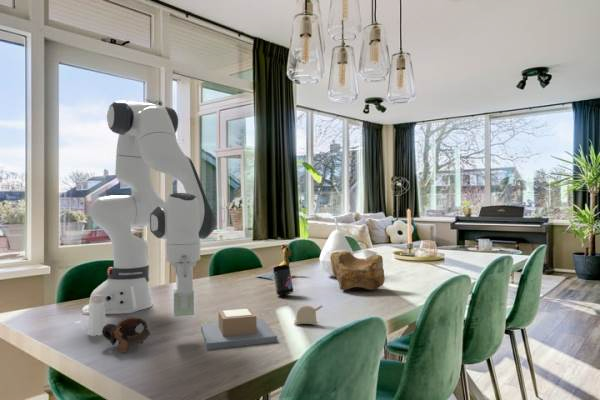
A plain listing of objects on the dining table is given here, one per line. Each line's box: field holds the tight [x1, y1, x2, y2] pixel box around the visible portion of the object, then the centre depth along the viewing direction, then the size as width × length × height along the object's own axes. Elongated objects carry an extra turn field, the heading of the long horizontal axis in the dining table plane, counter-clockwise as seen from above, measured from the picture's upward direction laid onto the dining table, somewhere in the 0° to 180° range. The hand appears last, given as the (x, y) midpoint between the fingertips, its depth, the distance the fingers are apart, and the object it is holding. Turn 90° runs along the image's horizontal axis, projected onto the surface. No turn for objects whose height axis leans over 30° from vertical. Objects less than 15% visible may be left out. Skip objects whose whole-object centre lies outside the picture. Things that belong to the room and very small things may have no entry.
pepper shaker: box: [86, 294, 107, 337], centre depth 121 cm, size 5×5×11 cm
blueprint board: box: [200, 307, 278, 350], centre depth 119 cm, size 18×18×6 cm
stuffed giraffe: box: [255, 244, 298, 281], centre depth 208 cm, size 16×18×16 cm
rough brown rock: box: [330, 251, 385, 291], centre depth 177 cm, size 23×17×15 cm
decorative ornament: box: [293, 304, 323, 326], centre depth 129 cm, size 4×8×5 cm, turn 87°
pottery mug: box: [102, 316, 151, 354], centre depth 109 cm, size 12×9×8 cm
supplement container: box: [272, 264, 294, 297], centre depth 167 cm, size 7×7×10 cm
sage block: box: [173, 289, 195, 318], centre depth 116 cm, size 5×5×6 cm
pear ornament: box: [318, 218, 355, 278], centre depth 209 cm, size 16×22×28 cm
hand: (183, 305), depth 116 cm, fingers closed on sage block, 5 cm apart
